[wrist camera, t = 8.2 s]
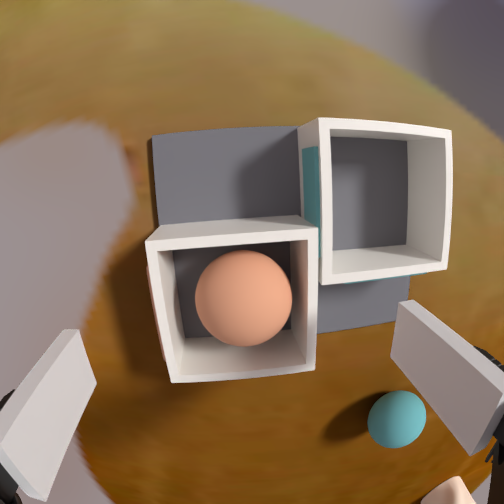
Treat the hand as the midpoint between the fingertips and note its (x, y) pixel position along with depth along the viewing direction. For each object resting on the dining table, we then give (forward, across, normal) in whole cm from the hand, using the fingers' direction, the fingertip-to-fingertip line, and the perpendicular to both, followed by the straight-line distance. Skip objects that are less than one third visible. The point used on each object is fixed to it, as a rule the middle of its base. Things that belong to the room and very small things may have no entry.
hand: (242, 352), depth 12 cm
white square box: (+8, 0, 0) cm, 8 cm away
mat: (+8, +4, +2) cm, 9 cm away
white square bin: (+8, +8, +5) cm, 12 cm away
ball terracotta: (+5, 0, 0) cm, 5 cm away
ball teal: (+5, +12, -12) cm, 18 cm away
